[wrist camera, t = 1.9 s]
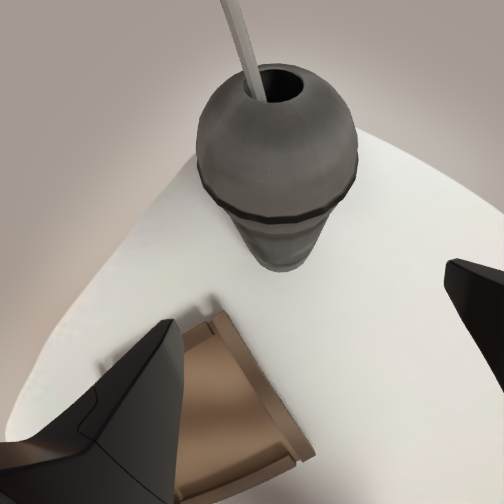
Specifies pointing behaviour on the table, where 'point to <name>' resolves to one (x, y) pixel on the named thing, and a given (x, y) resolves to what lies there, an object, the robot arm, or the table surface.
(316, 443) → the table surface
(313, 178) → the beverage cup
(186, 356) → the walnut tray
